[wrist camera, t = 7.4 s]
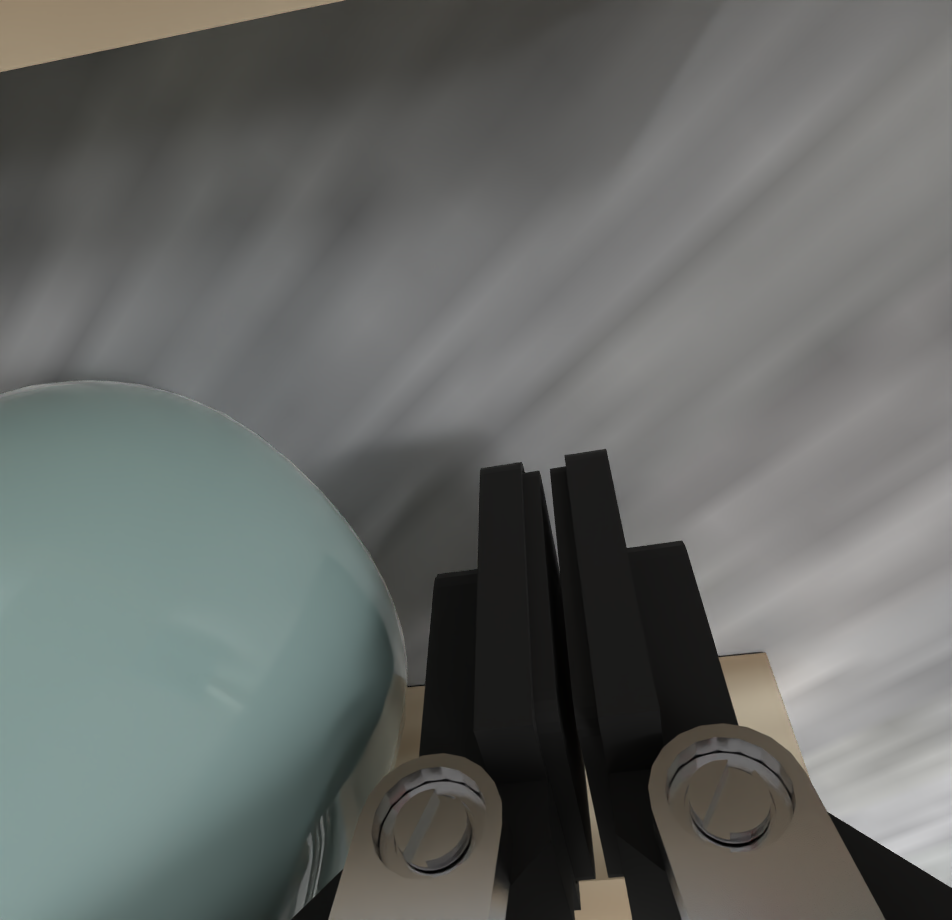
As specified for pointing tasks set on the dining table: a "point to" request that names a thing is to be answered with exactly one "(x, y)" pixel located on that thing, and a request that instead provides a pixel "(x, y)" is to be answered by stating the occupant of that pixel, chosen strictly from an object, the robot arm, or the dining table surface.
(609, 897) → the corral
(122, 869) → the cup
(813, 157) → the dining table surface
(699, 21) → the dining table surface
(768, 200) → the dining table surface
